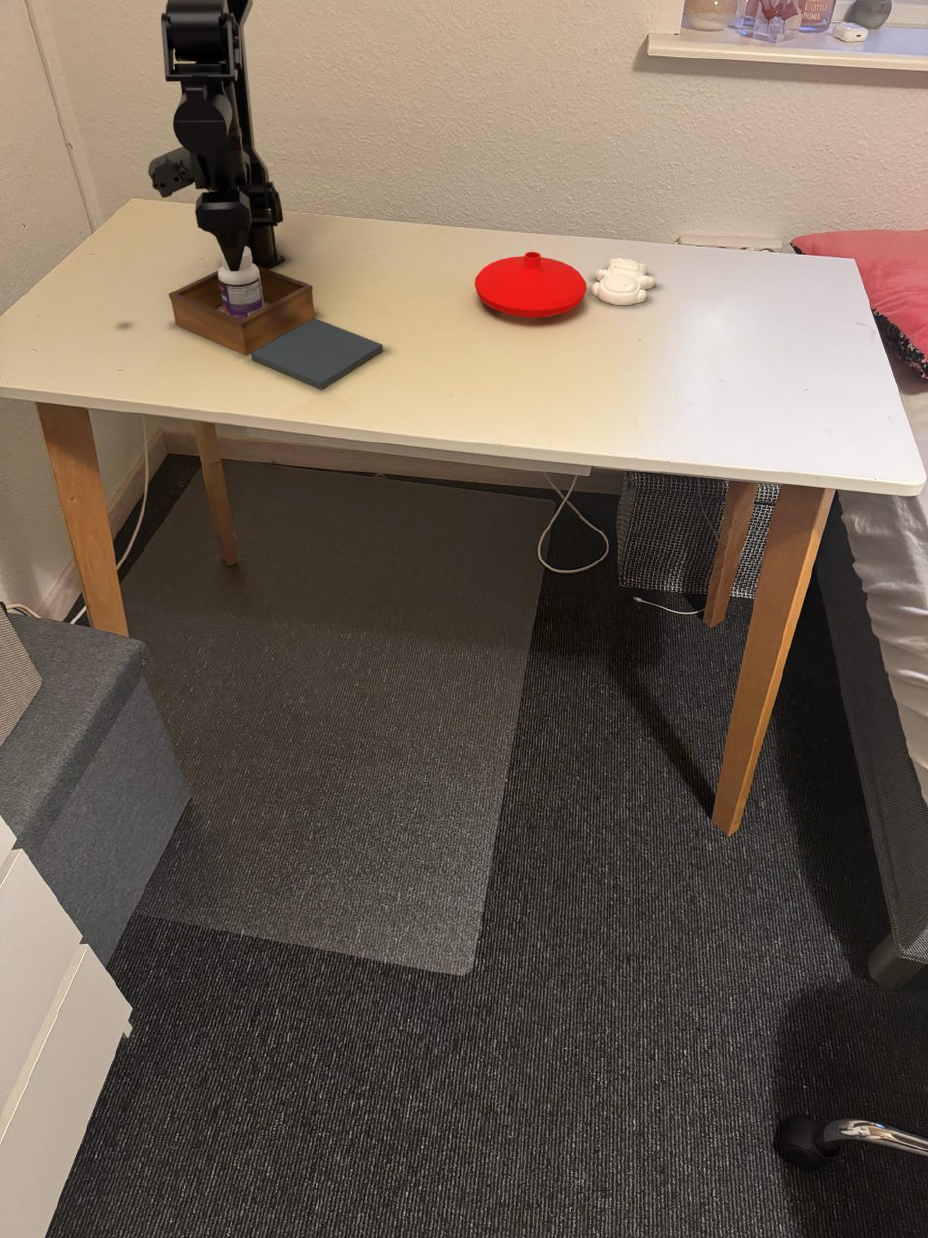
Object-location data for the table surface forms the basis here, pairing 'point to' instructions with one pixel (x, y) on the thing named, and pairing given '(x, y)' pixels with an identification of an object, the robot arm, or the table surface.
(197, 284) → the wooden square frame
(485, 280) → the flat cone with hole
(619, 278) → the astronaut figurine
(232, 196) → the robot arm
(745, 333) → the table surface
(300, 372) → the mat
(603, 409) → the table surface
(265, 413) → the table surface
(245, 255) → the pill bottle
